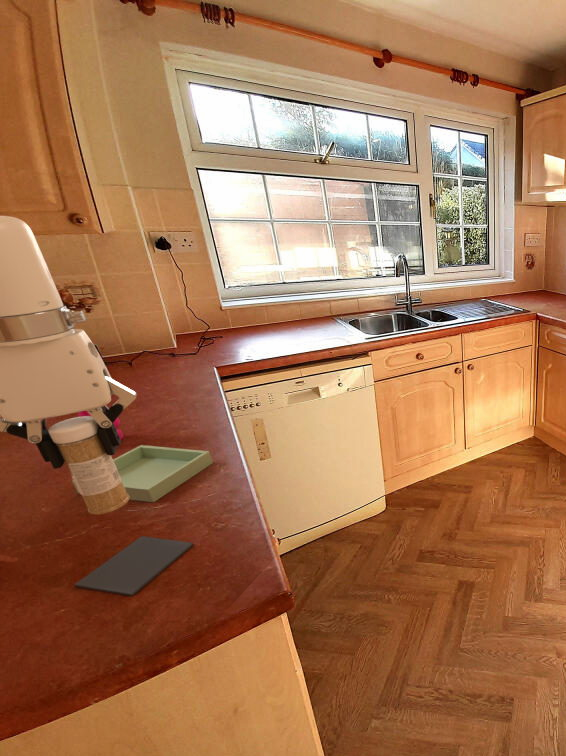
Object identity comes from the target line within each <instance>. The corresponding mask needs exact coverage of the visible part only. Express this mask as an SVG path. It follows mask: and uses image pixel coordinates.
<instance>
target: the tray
mask: <svg viewBox="0 0 566 756" xmlns="http://www.w3.org/2000/svg"><path fill="white" fill-rule="evenodd" d="M112 459H113V461H114V463H115V465H116V468H117V470H118V472H119V475H120V477H121V479H122V483H123V485H124V488H125V490H126V493H127V494H128V495H129V496H130V499H129V500H130V501H140V502H145V503H146V502H147V503H155V502H156V501H158V500H159V499H161V498H162V497H165V495H167V494H169V493H170V492H171V491H173V490H174V489H176V488H177V487H179V486H181V485H182V484H183V483H185V482H187V481H188V480H190V479H191V478H192V477H194V476H195V475H197V474H198V473H200V472H201V471H203V470H205V469H206V468H207V467H210V466H211V465H212V464H214V461H213V458H212V455H211V452H210V451H209V450H201V449H200V450H199V449H187V448H177V447H168V446H167V447H166V446H155V445H146V444H145V445H144V444H140V445H139V446H136V447H135V448H132V449H131V450H129V451H127V452H125V453H123V454H120V455H119V456H118V457H115V458H112ZM71 483H72V484H73V486H74V488H75V490H76V493H77V494H80V493H79V491H78V489H77V487H76V485H75V482H74V480H73V479H72V480H71ZM80 495H81V494H80Z"/></svg>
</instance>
